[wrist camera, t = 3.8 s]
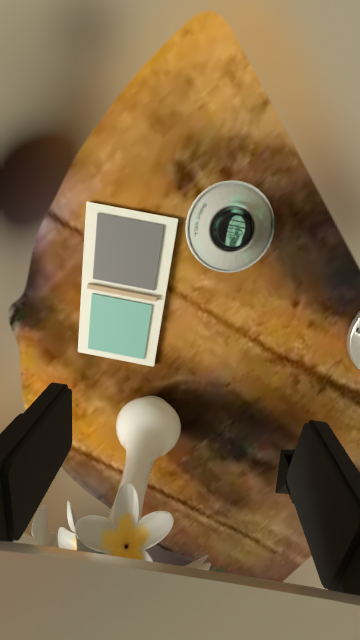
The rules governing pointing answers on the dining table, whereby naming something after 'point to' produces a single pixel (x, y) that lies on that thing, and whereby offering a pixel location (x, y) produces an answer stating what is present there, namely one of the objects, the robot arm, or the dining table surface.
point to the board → (124, 282)
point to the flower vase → (124, 491)
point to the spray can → (230, 226)
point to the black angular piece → (284, 472)
